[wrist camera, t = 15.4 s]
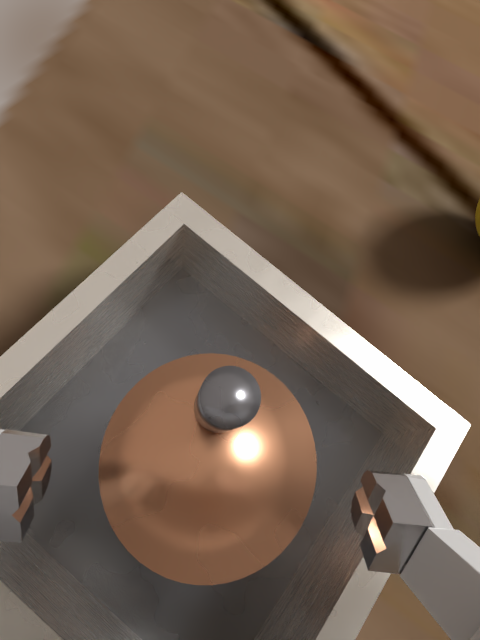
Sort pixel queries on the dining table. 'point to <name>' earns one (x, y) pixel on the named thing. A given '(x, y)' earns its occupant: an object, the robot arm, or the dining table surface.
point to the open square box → (165, 346)
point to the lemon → (478, 218)
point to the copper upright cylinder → (207, 469)
